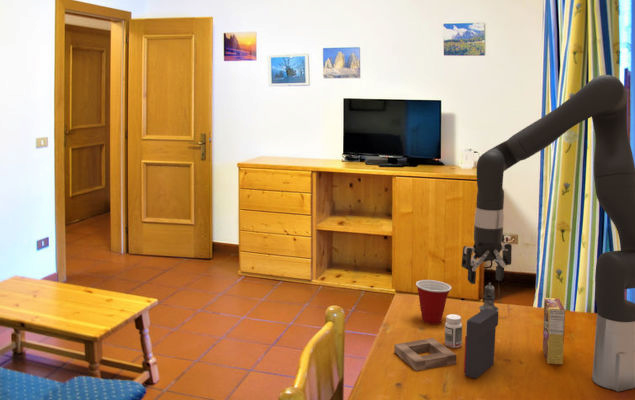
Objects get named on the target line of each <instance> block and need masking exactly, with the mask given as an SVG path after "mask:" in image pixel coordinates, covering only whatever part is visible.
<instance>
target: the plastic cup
mask: <svg viewBox="0 0 635 400" xmlns="http://www.w3.org/2000/svg"><path fill="white" fill-rule="evenodd" d="M415 286H416V288H417V294H418V299H419V300H418V301H419V307H420V313H421V319H422V322H423V323H425V324H427V323H428V324H429V325H438V323H439V324H441V323H442V320H443V317H444V315H443V314H444V312H445V308H446V302H447V298H448V296H449V292H450V291H451V290H452V286H451V285H450V284H449V283H446V282H442V281H439V280H432V279H421V280H418V281H416V283H415Z"/></svg>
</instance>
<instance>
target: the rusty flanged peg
mask: <svg viewBox="0 0 635 400" xmlns="http://www.w3.org/2000/svg"><path fill="white" fill-rule="evenodd" d="M483 298H484V300H483V304H482V305H480V306H479V308H478V309H479V312H481V311H482V310H484V309H491V310H495V311H498V312H499V307H497V306H495V299H496V295H495V286H494V285H492V283H491V282H488V284H487V285H486V286H485V287H484V295H483Z"/></svg>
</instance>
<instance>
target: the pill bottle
mask: <svg viewBox="0 0 635 400" xmlns="http://www.w3.org/2000/svg"><path fill="white" fill-rule="evenodd" d="M462 342H463V324H462V316H460V315H459V314H454V313H453V314H451V313H450V314H447V315H446V319H445V324H444V346H445V347H447V348H451V349H452V348H454V349H455V348H457V349H458V348H461V346H462V345H463V343H462Z"/></svg>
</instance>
